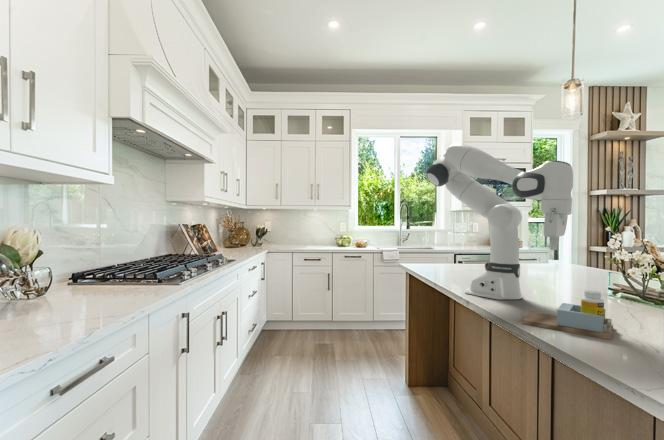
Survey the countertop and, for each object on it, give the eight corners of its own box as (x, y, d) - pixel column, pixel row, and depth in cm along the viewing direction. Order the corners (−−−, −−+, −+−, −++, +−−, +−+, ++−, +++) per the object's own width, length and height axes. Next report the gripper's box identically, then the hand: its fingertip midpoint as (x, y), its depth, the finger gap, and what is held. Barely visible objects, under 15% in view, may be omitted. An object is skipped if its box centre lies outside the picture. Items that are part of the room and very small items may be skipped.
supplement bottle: (599, 329, 103) (599, 294, 103) (577, 325, 108) (578, 290, 108) (606, 326, 106) (607, 292, 106) (585, 322, 111) (586, 289, 111)
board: (522, 323, 112) (522, 313, 112) (531, 314, 123) (531, 305, 123) (611, 339, 98) (611, 328, 98) (613, 328, 109) (613, 317, 109)
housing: (556, 324, 107) (557, 309, 107) (562, 316, 117) (562, 302, 117) (602, 332, 100) (603, 316, 100) (604, 323, 110) (605, 308, 110)
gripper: (562, 208, 111) (560, 252, 111) (570, 209, 127) (568, 248, 127) (539, 207, 115) (537, 250, 115) (550, 209, 131) (547, 247, 131)
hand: (553, 249), depth 121 cm, fingers closed
